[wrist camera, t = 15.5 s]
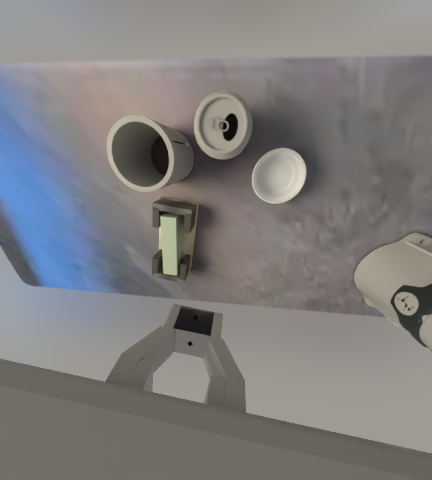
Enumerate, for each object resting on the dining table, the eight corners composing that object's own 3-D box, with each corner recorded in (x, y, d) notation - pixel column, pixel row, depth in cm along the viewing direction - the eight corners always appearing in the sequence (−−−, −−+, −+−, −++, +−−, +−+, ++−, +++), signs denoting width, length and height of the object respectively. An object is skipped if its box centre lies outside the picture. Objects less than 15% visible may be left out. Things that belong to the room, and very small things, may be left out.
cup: (140, 163, 36) (98, 166, 25) (160, 117, 32) (120, 97, 21) (179, 190, 37) (156, 204, 26) (203, 149, 33) (186, 145, 23)
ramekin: (286, 138, 31) (294, 135, 27) (306, 183, 34) (315, 186, 30) (241, 167, 34) (242, 168, 30) (263, 207, 37) (266, 212, 33)
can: (242, 162, 34) (244, 165, 23) (203, 154, 34) (187, 153, 23) (253, 115, 30) (262, 92, 20) (209, 106, 31) (195, 78, 20)
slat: (183, 210, 38) (176, 218, 33) (183, 263, 43) (176, 275, 39) (169, 209, 38) (160, 216, 34) (171, 261, 44) (163, 273, 39)
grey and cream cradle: (198, 203, 38) (193, 210, 33) (190, 270, 45) (185, 283, 40) (161, 196, 38) (151, 202, 33) (159, 264, 45) (150, 276, 40)
